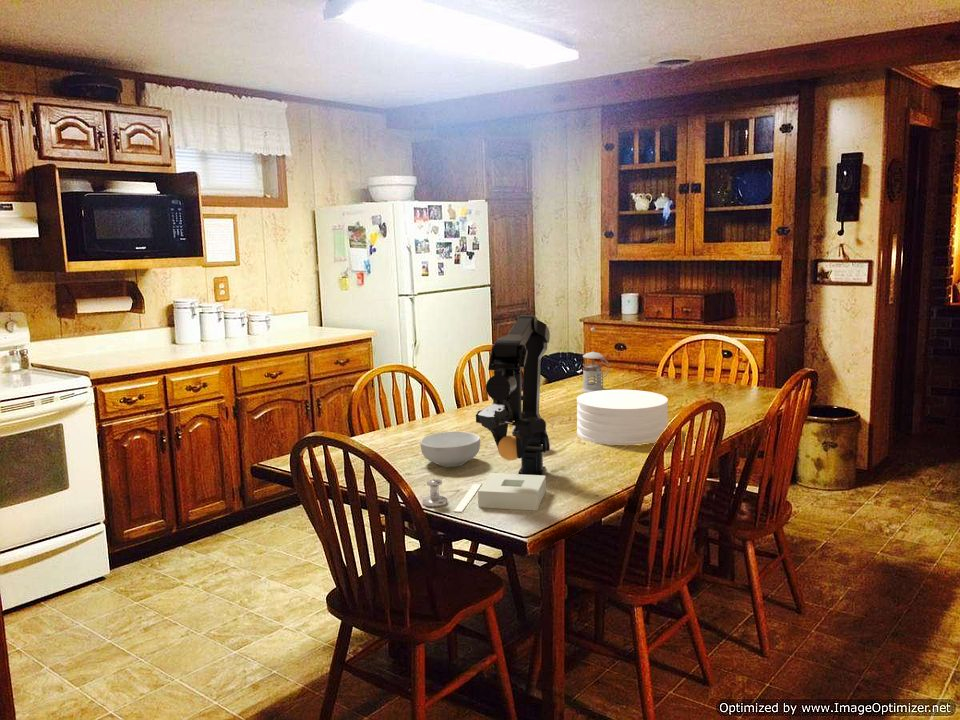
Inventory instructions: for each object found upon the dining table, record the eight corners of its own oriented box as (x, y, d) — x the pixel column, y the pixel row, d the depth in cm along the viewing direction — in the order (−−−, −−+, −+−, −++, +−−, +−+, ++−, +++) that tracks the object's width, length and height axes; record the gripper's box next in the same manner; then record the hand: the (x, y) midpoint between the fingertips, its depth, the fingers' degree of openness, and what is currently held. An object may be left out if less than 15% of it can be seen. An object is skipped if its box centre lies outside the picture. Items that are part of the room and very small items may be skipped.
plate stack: (669, 425, 262) (669, 390, 260) (665, 448, 236) (665, 410, 234) (583, 421, 270) (583, 388, 268) (570, 444, 243) (570, 407, 241)
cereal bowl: (448, 451, 238) (448, 427, 237) (492, 460, 228) (492, 436, 226) (408, 465, 225) (407, 440, 224) (453, 475, 215) (452, 450, 214)
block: (491, 488, 204) (490, 473, 203) (545, 491, 200) (545, 475, 200) (478, 507, 190) (478, 490, 189) (536, 510, 187) (536, 494, 186)
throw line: (473, 484, 207) (473, 483, 207) (481, 485, 206) (481, 484, 206) (453, 511, 187) (453, 511, 187) (461, 512, 187) (461, 511, 187)
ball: (506, 449, 198) (493, 435, 195) (527, 441, 196) (514, 427, 192) (505, 468, 194) (492, 454, 190) (527, 460, 191) (514, 446, 188)
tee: (426, 498, 197) (425, 476, 196) (450, 499, 196) (449, 478, 195) (419, 506, 191) (418, 484, 191) (443, 508, 190) (442, 485, 189)
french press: (576, 388, 322) (576, 326, 318) (602, 386, 325) (603, 325, 321) (587, 393, 313) (586, 329, 309) (614, 391, 316) (614, 328, 312)
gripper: (458, 391, 192) (459, 455, 195) (513, 402, 179) (514, 470, 181) (492, 385, 200) (493, 446, 202) (547, 395, 186) (547, 460, 188)
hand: (510, 455), depth 193 cm, fingers closed on ball, 6 cm apart
